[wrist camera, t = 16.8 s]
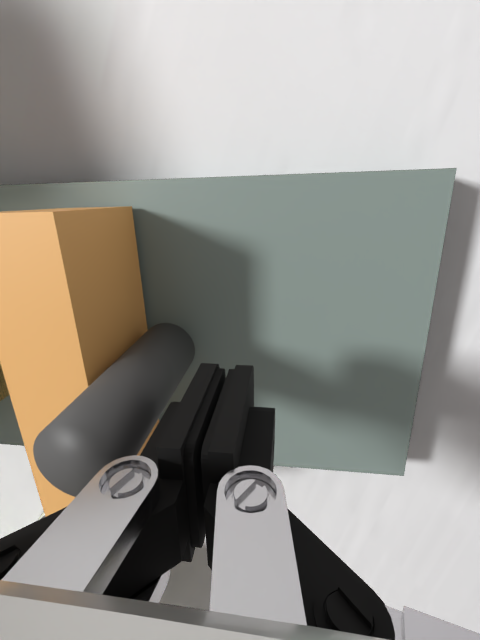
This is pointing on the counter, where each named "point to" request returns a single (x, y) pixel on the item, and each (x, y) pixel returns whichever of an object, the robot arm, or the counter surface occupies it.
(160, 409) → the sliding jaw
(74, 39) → the counter surface
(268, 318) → the vise
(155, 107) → the counter surface
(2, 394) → the brass block
